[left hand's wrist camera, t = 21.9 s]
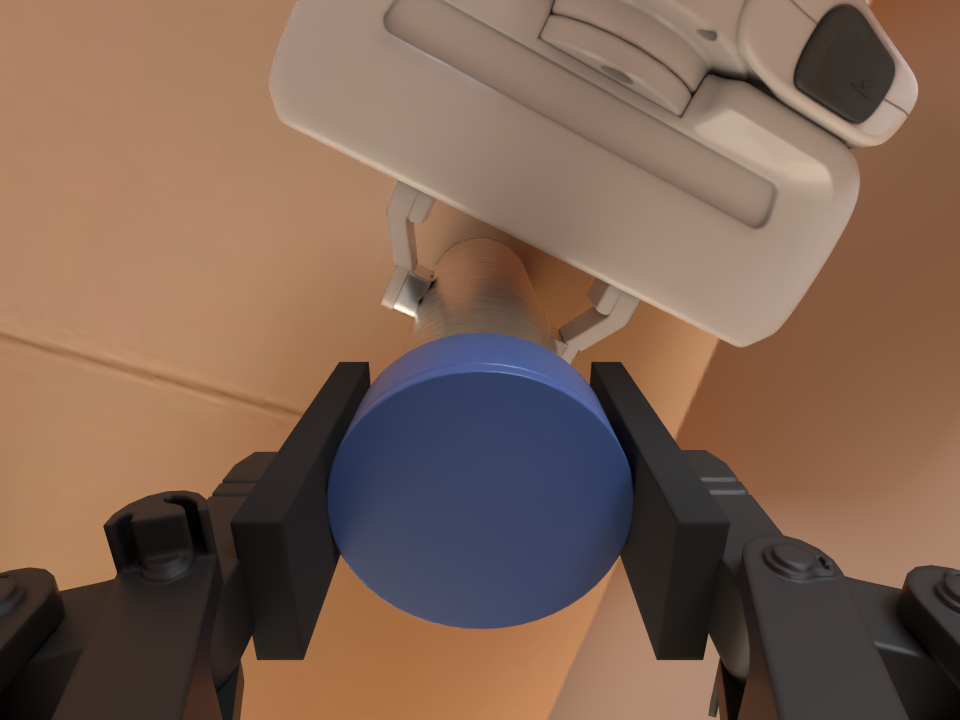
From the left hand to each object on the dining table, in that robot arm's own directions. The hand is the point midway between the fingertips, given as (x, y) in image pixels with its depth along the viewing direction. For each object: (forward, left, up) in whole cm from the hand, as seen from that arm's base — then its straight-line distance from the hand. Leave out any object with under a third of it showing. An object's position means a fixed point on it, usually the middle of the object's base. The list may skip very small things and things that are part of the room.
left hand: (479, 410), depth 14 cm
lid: (0, 0, +4) cm, 4 cm away
